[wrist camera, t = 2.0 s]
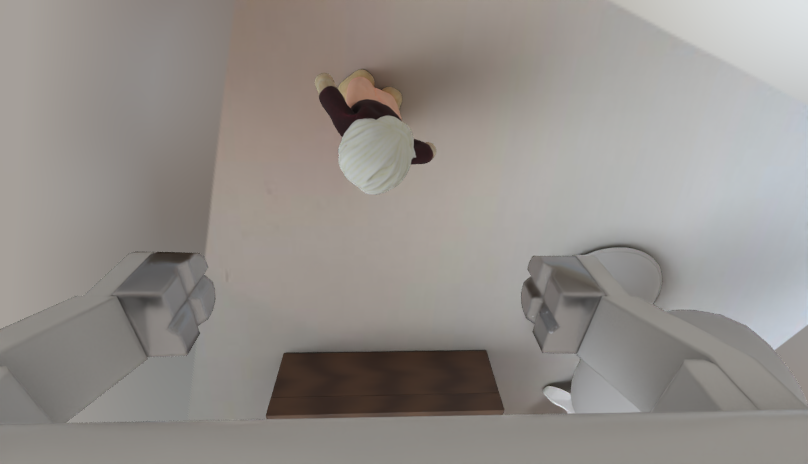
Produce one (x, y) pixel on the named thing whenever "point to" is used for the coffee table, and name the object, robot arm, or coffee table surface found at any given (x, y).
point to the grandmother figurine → (371, 132)
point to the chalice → (645, 282)
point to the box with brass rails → (384, 385)
